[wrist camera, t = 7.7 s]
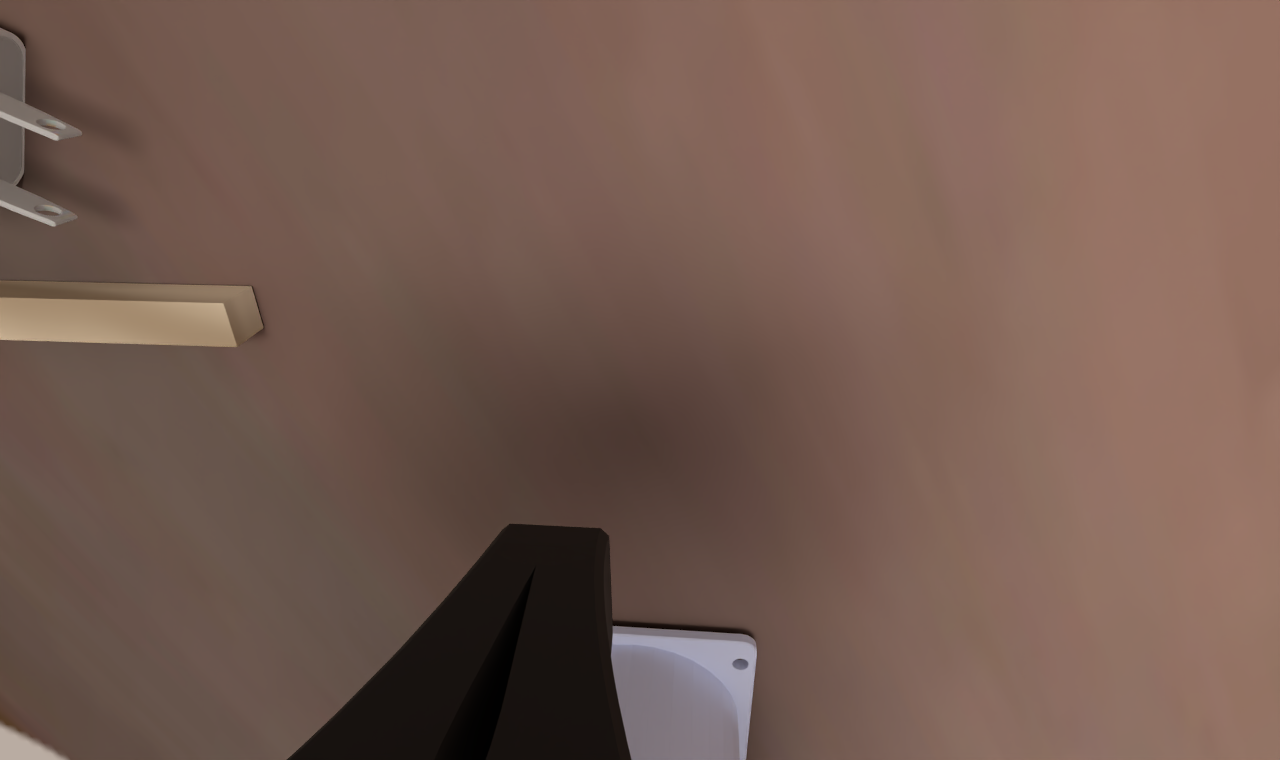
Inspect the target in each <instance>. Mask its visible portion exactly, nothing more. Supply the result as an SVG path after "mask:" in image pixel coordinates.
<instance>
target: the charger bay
mask: <svg viewBox="0 0 1280 760" xmlns="http://www.w3.org/2000/svg"><path fill="white" fill-rule="evenodd" d="M263 328H264V327H263V324H262V320H261V317H260V314H259V310H258V307H257V303H256V300H255V296H254V293H253V290H252V286H222V285H180V284H137V283H95V282H52V281H10V280H0V340H29V341H61V342H93V343H125V344H158V345H190V346H222V347H238V346H239V345H241V344H242V343H243V342H245V341H246V340H248V339H249V338H250V337H252V336H253V335H255V334H256V333H257V332H259V331H260V330H262V329H263Z"/></svg>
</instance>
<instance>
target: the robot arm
mask: <svg viewBox="0 0 1280 760" xmlns="http://www.w3.org/2000/svg"><path fill="white" fill-rule="evenodd" d="M756 657H757V648H756V642H755V640H754V639H753V638H752V637H750V636H748V635H744V634H734V633H718V632H702V631H686V630H670V629H654V628H638V627H622V626H613V623H612V597H611V572H610V546H609V536H608V535H607V534H606V533H605V532H604V531H603V530H602V529H601V528H582V527H563V526H543V525H524V524H509V525H508V526H507V527H505V528H504V529H503V530H502V531H501V532H500V534H499V535H498V536H497V537H496V538H495V540H494V541H493V542H492V543H491V545H490V546H489V547H488V548H487V550H486V551H485V552H484V553H483V554H482V556H481V557H480V558H479V559H478V561H477V562H476V563H475V564H474V565H473V567H472V568H471V569H470V570H469V571H468V573H467V574H466V575H465V576H464V577H463V578H462V580H461V581H460V582H459V583H458V584H457V586H456V587H455V588H454V589H453V590H452V591H451V593H450V594H449V595H448V596H447V597H446V598H445V600H444V601H443V602H442V603H441V604H440V605H439V606H438V607H437V608H436V610H435V611H434V612H433V613H432V614H431V615H430V616H429V617H428V618H427V620H426V621H425V622H424V623H423V624H422V625H421V626H420V627H419V628H418V630H417V631H416V632H415V633H414V634H413V635H412V636H411V637H410V638H409V640H408V641H407V642H406V643H405V644H404V645H403V646H402V647H401V648H400V649H399V650H398V651H397V653H396V654H395V655H394V656H393V657H392V658H391V659H390V660H389V661H388V662H387V663H386V664H385V665H384V666H383V667H382V668H381V669H380V670H379V671H378V672H377V673H376V674H375V675H374V676H373V677H372V678H371V679H370V680H369V681H368V682H367V683H366V684H365V685H364V686H363V687H362V688H361V689H360V690H359V691H358V692H357V693H356V694H355V695H354V696H353V697H352V698H351V699H350V700H349V701H348V702H347V703H346V704H345V705H344V706H343V707H342V708H341V709H340V710H339V711H338V712H337V713H336V714H335V715H334V716H333V717H332V718H331V719H330V720H329V721H328V722H327V723H326V724H325V725H324V726H323V727H322V728H321V729H320V730H318V731H317V732H316V733H315V734H314V735H313V736H312V737H311V738H310V739H309V740H308V741H307V742H306V743H305V744H304V745H302V746H301V747H300V748H299V749H298V750H297V751H296V752H295V753H294V754H293V755H292V756H290V757H289V758H288V759H287V760H746V754H747V744H748V735H749V725H750V715H751V706H752V696H753V686H754V677H755V667H756ZM738 659H742V660H738Z"/></svg>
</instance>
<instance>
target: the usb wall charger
mask: <svg viewBox="0 0 1280 760" xmlns="http://www.w3.org/2000/svg"><path fill="white" fill-rule="evenodd" d="M25 64H26V49H25V47H24V45H23V43H22V42H21V40H20V39H19V38H18V37H17V36H16V35H14V34H13V33H11V32H9V31H6V30H4V29H2V28H0V206H2V207H5V208H7V209H9V210H12V211H14V212H17V213H19V214H22V215H25V216H27V217H30V218H32V219H35V220H37V221H40V222H43V223H45V224H48V225H50V226H57V225H60V224H63V223H66V222H69V221H72V220H75V219H77V218H78V217H77V215H76V214H74V213H73V212H71V211H68V210H66V209H64V208H62V207H60V206H58V205H56V204H54V203H52V202H50V201H48V200H46V199H44V198H42V197H40V196H38V195H35V194H33V193H31V192H29V191H26V190H24V189H22V188H19V187H17V186H16V185H17V184H18V182H19V181H20V179H21V178H22V176H23V174H24V139H25V128H27V129H29V130H31V131H34V132H36V133H39V134H41V135H43V136H46V137H48V138H51V139H53V140H63V139H68V138H72V137H77V136H82V132H81V131H80V130H79V129H77V128H75V127H73V126H71V125H69V124H67V123H65V122H63V121H61V120H59V119H57V118H55V117H53V116H51V115H49V114H47V113H45V112H43V111H41V110H38V109H36V108H34V107H32V106H30V105H27V104H25ZM40 125H46V126H52V127H56V128H59V129H61V130H54V129H49V128H45V127H43V126H40ZM37 211H52V212H55V213H58V214H59V215H58V216H48V215H43V214H40V213H38V212H37Z"/></svg>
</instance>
